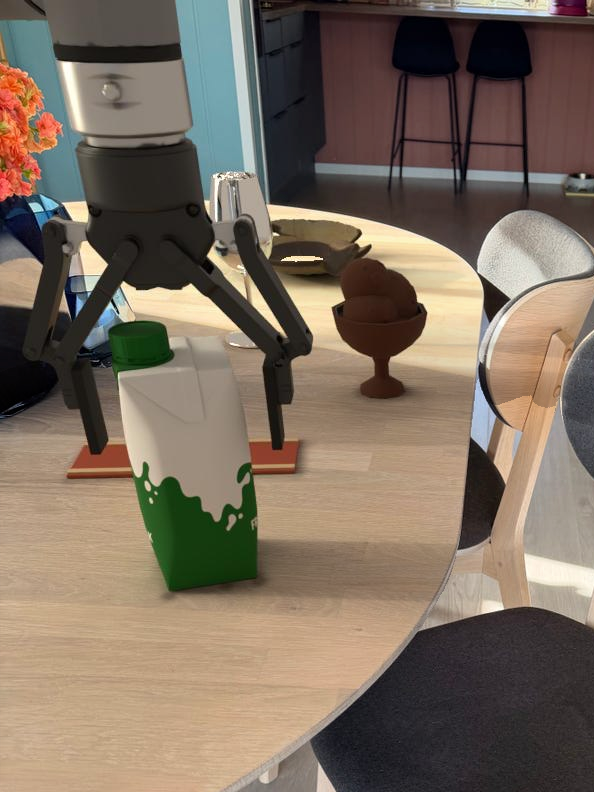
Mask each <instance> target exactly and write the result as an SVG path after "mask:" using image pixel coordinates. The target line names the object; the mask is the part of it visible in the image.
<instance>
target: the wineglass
mask: <svg viewBox="0 0 594 792" xmlns="http://www.w3.org/2000/svg"><path fill="white" fill-rule="evenodd" d="M208 208H209V209H208V215H209V217H210V218H211V220H212V221H213V222H217V221H225V220H233V219H238V217H239V216H240V215H241V214H249V215H251V216H252V217H253V219H254V221H255V225H256V230H257V234H258V239H259V243H260V247H261V249H262V250H263V252H264V254H265V255H266V257H267V259H269V257H270V255H271V253H272V249H273V236H274V233H273V231H272V226H271V221H272V220H271V217H270V212H269V209H268V206H267V202H266V199H265V196H264V192H263V189H262V186H261V183H260V180H259V176H258V174H256V173H254V172H249V171H222V172H215V173H214V174H212V175H211V176H210V189H209V207H208ZM211 249H213V251H214V254H215V256H216V257H217V258H218V260H219V261H220V262H221V263H223V264H224V265H225V266H226V267H227V268H228V269H229V270H232V271H234V272H237V273H239V274H240V275H241V277H242V280H243V281H242V282H243V284H244V289H245V290H244V291H245V296H246V297H245V298H246V299H247V300H248V301H249V302H250V303H251V304H252V305H253V306H254V303H253V296H252V279H251V277H250V276H249V274H248V272H247V271H246V269H245V267H244V265H243V263H242V261H241V259H240V256H239V254H233V253H231V252H230V251H229V250H228V248H227V246H226V245H225V243H224V242H222V241H220V240H215V243H214V244H213V246H212V248H211ZM278 332H279V333H280V334H281V335H282V336H283V334H282V332H281V331H278ZM224 341H225V342H226V343H227V344H228V345H229V346H230V345H231V346H233V347H237V348H244V349H257V348H258V347H257V346H256V345H255V344H254V343H253V342H252V341H251V340H250V339H249V338H248V337H247V336H246V335H245V334H244V333H243V332H242V331H241V330H240V329H236V330H234V331H231V332H229V333H228V334H227V335H226V336H225V338H224ZM258 349H259V348H258Z"/></svg>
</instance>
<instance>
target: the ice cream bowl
mask: <svg viewBox="0 0 594 792" xmlns="http://www.w3.org/2000/svg"><path fill="white" fill-rule="evenodd" d="M339 284H340V290H341V293H342V295H343V298H344V300H343V301H341V302H339V303H337V304H335V305H333V306H331V307H330V308H331V312H332V316H333V320H334V324H335V328H336V330H337V332H338V334H339V336H340V339H341V340H342V341H343V342H344V343H345V344H346V345H347V346H348V347H349V348H351V349H352V350H354V351H356V352H357V353H359V354H361V355H364V356H366V357H369V358H371V359H372V361H373V366H374V375H373V376H371V377H370V378H368V379H366V380H365V381H363V382H362V383H360V386H359V392H360V394H361V395H363V396H366V397H368V398H370V399H392V398H395V397H400V396H401V395H403V394H404V393H405V392H406V389H405V385H404V383H403V381H401V380H400V379H397V378H396V377H394V376H392V375H390V367H389V363H390V360H391V358H394V357H396V356H398V355H400V354H401V353H403V352H405V350H407V349H408V348H410V347H411V346H412V345H414V343H416V341H417V340H418V339H420V337H421V336H422V334H423V332H424V330H425V327H426V325H427V324H426V323H427V319H428V311H427V309H426V306H425V305H424V303H423V302H419V300H418V295H417V292H416V289H415V287H414V285H412V283H411V282H410V281H409V279H407V278H406V276H405V275H404V274H403V273H400V272H398V271H396V270H393V269H390V268H387V267H386V266H385V264H384V263H383V262H381V261H380V260H378V259H374V258H370V257H362V258H361V259H357V260H355V261H352V262H350V263H349V264H348V265H347V266H346V268H345V269H344V271H343V272H342V274H341V275H340V279H339Z"/></svg>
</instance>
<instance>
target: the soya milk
mask: <svg viewBox="0 0 594 792" xmlns="http://www.w3.org/2000/svg"><path fill="white" fill-rule="evenodd" d="M107 337H108V341H109V345H110V351H111V360H110V361H111V368H112V372H113V375H114V378H115V381H116V388H117V389H116V390H117V392H118V395H119V405H120V413H121V421H122V429H123V436H124V441H126V446H127V450H128V455H129V459H130V464H131V469H132V473H133V477H132V478H133V483H134V486H135V487H134V488H135V492H136V495H137V499H138V501H137V502H138V505H139V509H140V513H141V517H142V520H143V523H144V528H145V531H146V534H147V536H148V539H149V542H150V545H151V548H152V550H153V553H154V555H155V558H156V560H157V563H158V566H159V569H160V571H161V574H162V576H163V580H164V581H165V584H166V587H167V589H168V592H173V591H180V590H186V589H192V588H193V589H194V588H199V587H205V586H210V585H217V584H218V585H219V584H224V583H231V582H236V581H243V580H249V579H255V578H257V577H258V531H259V530H258V526H259V525H258V523H259V521H258V519H259V517H258V516H259V515H258V503H257V495H256V486H255V480H254V479H255V478H254V474H253V471H252V463H251V455H250V448H249V441H248V438H249V435H248V433H249V432H248V427H247V420H246V413H245V408H244V404H243V400H242V397H241V393H240V389H239V386H238V383H237V379H236V375H235V371H234V368H233V365H232V362H231V361H230V358H229V355H228V352H227V350H226V348H225V345H224V342H223V341H222V338H221V335H209V336H198V337H187V336H184V335H183V336H181V335H180V336H172V337H169V335H168V329H167V326H166V325H165V324H164V323H162V322H159V321H155V320H142V319H141V320H131V321H124V322H120V323H117V324H115V325H112V326H111V327H109V328H108V330H107Z"/></svg>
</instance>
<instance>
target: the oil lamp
mask: <svg viewBox="0 0 594 792" xmlns="http://www.w3.org/2000/svg"><path fill="white" fill-rule="evenodd" d="M270 221H271V226H272V231H273V234H277V235H273V249H272V253H271V255H270V257H269V259H268V260H269V262H270V264H271V266H272V267H273V269H274V271H275V272H278V273H282V272H283V273H282V274H287V275H294V276H296V274H317V275H324V274H329V275H331V276H333V277H339V276H340V277H341V274H342V272H343V271H344V269H345V268H346V266H347V265H348V264H349V263H350V262H352V261H355V260H357V259H361V258H365V256H366V255H368V253H369V252H370V251H371V250H372V248H373V247H372V244H371V243H369V244H367V245H364V246H360V245H359V243H358V242H357V241H358V240H359V239H360V238H361V237H362V235H363V232H362V230H361V229H360V228H358V227H355V226H354V225H351V224H347V223H343V222H340V221H334V220H328V219H327V220H326V219H305V218H298V219H296V218H292V219H287V218H280V219H275V220H270ZM291 256H315V257H320V258H323V260H314V261H297V262H295V261H281V260H282V259H284V258H286V257H291ZM288 273H290V274H288Z"/></svg>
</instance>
